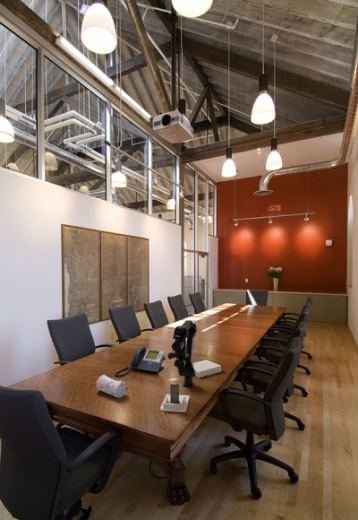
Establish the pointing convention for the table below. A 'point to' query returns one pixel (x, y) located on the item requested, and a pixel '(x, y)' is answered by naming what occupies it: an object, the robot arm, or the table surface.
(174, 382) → the disc
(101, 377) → the pencil case
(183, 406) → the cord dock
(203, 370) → the disc drive
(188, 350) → the robot arm
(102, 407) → the table surface
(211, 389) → the table surface
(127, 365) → the table surface
